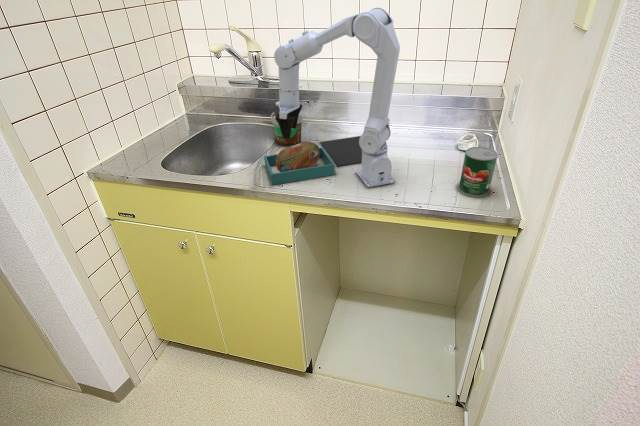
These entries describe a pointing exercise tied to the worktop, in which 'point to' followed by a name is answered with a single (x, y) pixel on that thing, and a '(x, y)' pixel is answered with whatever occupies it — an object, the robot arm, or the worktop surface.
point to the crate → (299, 170)
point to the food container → (295, 133)
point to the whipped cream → (467, 142)
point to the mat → (344, 151)
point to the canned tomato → (477, 171)
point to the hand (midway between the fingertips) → (289, 132)
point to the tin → (298, 157)
